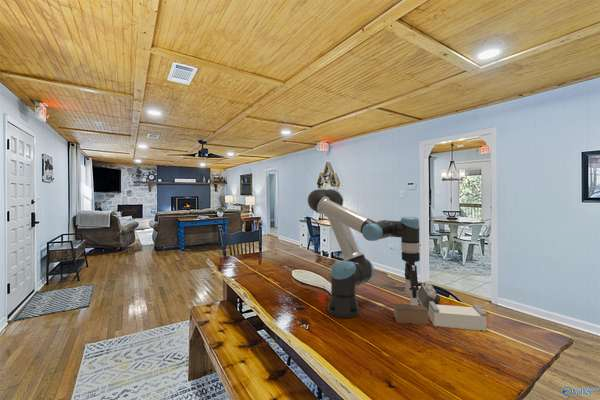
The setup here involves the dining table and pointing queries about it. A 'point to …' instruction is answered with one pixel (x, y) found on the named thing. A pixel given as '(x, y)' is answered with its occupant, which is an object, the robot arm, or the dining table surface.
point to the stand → (458, 316)
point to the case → (410, 314)
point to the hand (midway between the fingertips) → (411, 298)
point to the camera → (427, 295)
